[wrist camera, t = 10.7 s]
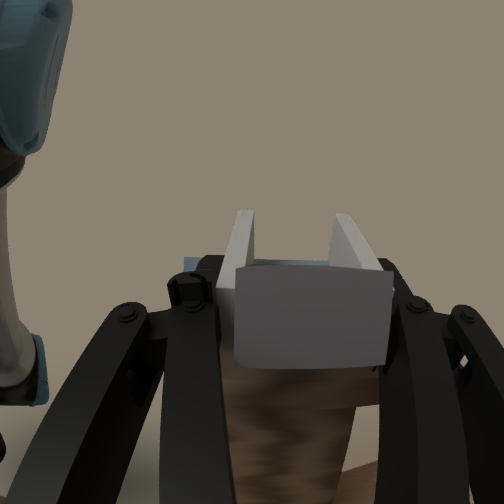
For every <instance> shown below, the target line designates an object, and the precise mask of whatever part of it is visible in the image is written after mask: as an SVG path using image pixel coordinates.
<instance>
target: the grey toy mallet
mask: <svg viewBox="0 0 504 504" xmlns="http://www.w3.org/2000/svg"><path fill="white" fill-rule="evenodd" d="M201 259H202V258H193V257H191V258H190V257H184V272H188V271H195V270H196V267H197V264H198V262H199V261H200V260H201ZM393 278H394V271H382V270H371V269H359V268H348V267H337V266H330V264H329V261H305V260H304V261H303V260H265V259H263V260H262V259H254V264H252V265H248V266H243V267H239V268H236V271H235V315H234V367H241V368H263V369H327V368H349V367H365V366H377V365H385V362H386V355H387V348H388V340H389V331H390V321H391V310H392V297H393Z"/></svg>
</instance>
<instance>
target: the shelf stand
mask: <svg viewBox="0 0 504 504" xmlns="http://www.w3.org/2000/svg"><path fill="white" fill-rule="evenodd" d="M219 353H220V361H221V373H222V383H223V394H224V404H225V413H226V423H227V431H228V440H229V448H230V456H231V464H232V472H233V479H234V486H235V493H236V500H237V504H332V501H333V498H334V495H335V491H336V488H337V485H338V481H339V478H340V474H341V471H342V467H343V463H344V460H345V456H346V452H347V447H348V443H349V439H350V434H351V430H352V425H353V420H354V415H355V410H356V407H361V406H369V405H378V404H379V373H378V366H377V368H376V370H375V372H372V369H373V366H365V367H349V368H327V369H263V368H241V367H234V351H229V350H222V345H220V350H219Z"/></svg>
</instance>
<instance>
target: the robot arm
mask: <svg viewBox="0 0 504 504" xmlns="http://www.w3.org/2000/svg"><path fill="white" fill-rule="evenodd" d="M72 9H73V6H72V0H0V405H9V406H33V407H34V406H35V405H43V404H46V403H47V402H48V399H49V386H48V382H47V380H48V378H47V367H46V359H45V352H44V345H43V341H42V338H41V337H40V336H39V335H34V334H32V333H31V334H30V332H29V330H28V329H27V328H26V326H25V325H24V324H23V323H22V322H21V321H19V319H18V314H17V309H16V304H15V298H14V293H13V286H12V279H11V272H10V264H9V253H8V240H7V217H6V200H7V187H8V186H9V185H11V184H12V183H13V182H14V181H15V180H16V179H17V178H18V176H19V175H20V174H21V172H22V170H23V168H24V164H25V158H26V156H27V155H29V154H31V153H35V152H37V151H39V150H40V149H41V147H42V145H43V143H44V141H45V138H46V134H47V130H48V126H49V122H50V117H51V110H52V105H53V100H54V97H55V93H56V89H57V84H58V80H59V75H60V71H61V66H62V61H63V57H64V52H65V48H66V43H67V39H68V34H69V29H70V25H71V19H72V11H73V10H72ZM328 261H329V264H330V266H337V267H348V268H359V269H371V270H382V271H394V278H393V297H392V310H391V321H390V331H389V340H388V348H387V355H386V362H385V365H377V366H378V373H379V411H380V412H379V414H380V415H379V419H380V420H379V421H380V422H379V453H378V469H377V482H376V492H375V501H374V504H470V500H469V484H470V488H471V492H472V496H473V500H474V504H504V348H503V347H502V345H501V344H500V342H499V341H498V339H497V338H496V336H495V335H494V333H493V332H492V330H491V329H490V328H489V326H488V325H487V324H486V322H485V321H484V320H483V318H482V317H481V316H480V314H479V313H478V312H477V311H476V310H475V309H473V308H472V307H470V306H467V305H457V306H455V307H454V308H453V309H452V312H451V314H450V315H447V314H442V313H436V312H434V310H433V308H432V306H431V305H430V303H428V302H427V301H426V300H425V299H423V298H421V297H419V296H414V295H413V294H412V292H411V290H410V289H409V287H408V285H407V284H406V282H405V281H404V279H402V276H401V274H400V273H399V271H398V270H397V268H396V267H395V265H394V264H393V263H391V262H390V261H389V260H387V259H386V258H376V256H375V255H374V253H373V251H372V250H371V248H370V247H369V245H368V243H367V242H366V240H365V239H364V237H363V235H362V234H361V232H360V231H359V229H358V227H357V226H356V224H355V223H354V221H353V220H352V218H351V217H350V215H349V214H347V213H334V218H333V227H332V236H331V243H330V251H329V259H328ZM252 264H254V210H239V211H238V214H237V217H236V220H235V224H234V227H233V230H232V234H231V237H230V240H229V244H228V247H227V250H226V254H225V255H206V256H205V257H203V258H202V259H201V260H200V261H199V262H198V264H197V267H196V270H195V271H188V272H182V273H180V274H177V275H175V276H173V277H172V278H171V279H170V280H169V282H168V284H167V287H168V291H169V297H170V302H171V306H172V307H171V308H170V309H168V310H164V311H158V312H151V313H147V310H146V307H145V306H144V305H142V304H140V303H137V302H127V303H123V304H121V305H119V306H117V307H115V308H114V309H113V310H112V311H111V312H110V313H109V315H108V316H107V318H106V319H105V320H104V322H103V323H102V325H101V326H100V327H99V329H98V330H97V332H96V333H95V335H94V336H93V338H92V339H91V341H90V342H89V344H88V345H87V347H86V348H85V350H84V352H83V353H82V355H81V356H80V358H79V359H78V361H77V362H76V364H75V366H74V367H73V369H72V370H71V372H70V374H69V375H68V377H67V379H66V380H65V382H64V384H63V385H62V387H61V389H60V390H59V392H58V394H57V395H56V397H55V399H54V401H53V402H52V404H51V406H50V408H49V409H48V411H47V413H46V415H45V417H44V419H43V420H42V422H41V424H40V426H39V428H38V430H37V432H36V434H35V435H34V437H33V439H32V441H31V443H30V445H29V447H28V449H27V451H26V453H25V456H24V458H23V460H22V462H21V464H20V466H19V469H18V471H17V473H16V475H15V477H14V480H13V482H12V485H11V487H10V489H9V492H8V494H7V497H6V499H5V502H4V504H116V501H117V498H118V495H119V492H120V489H121V486H122V483H123V480H124V477H125V474H126V471H127V468H128V466H129V463H130V460H131V457H132V454H133V451H134V449H135V446H136V443H137V440H138V438H139V435H140V432H141V429H142V427H143V424H144V421H145V419H146V416H147V413H148V411H149V408H150V405H151V403H152V400H153V398H154V395H155V392H156V390H157V387H158V385H159V382H160V380H161V377H162V375H163V372H164V381H163V395H162V410H161V427H160V459H159V460H160V462H159V463H160V465H159V487H160V488H159V495H160V504H237V500H236V493H235V486H234V479H233V472H232V464H231V456H230V448H229V440H228V431H227V423H226V413H225V404H224V394H223V383H222V373H221V361H220V353H219V350H220V345H222V350H229V351H234V315H235V271H236V268H239V267H243V266H248V265H252ZM464 355H465V356H466V358H467V359H468V362H467V364H466V365H465V366H464V367H463V366H462V365H461V364H460V361H461V360H462V358H463V356H464ZM377 366H373V369H372V372H375V370H376V368H377ZM5 454H6V445H5V442H4V440H3V437H2V436H1V433H0V462H1V461H2V460H3V458H4V456H5Z"/></svg>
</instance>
